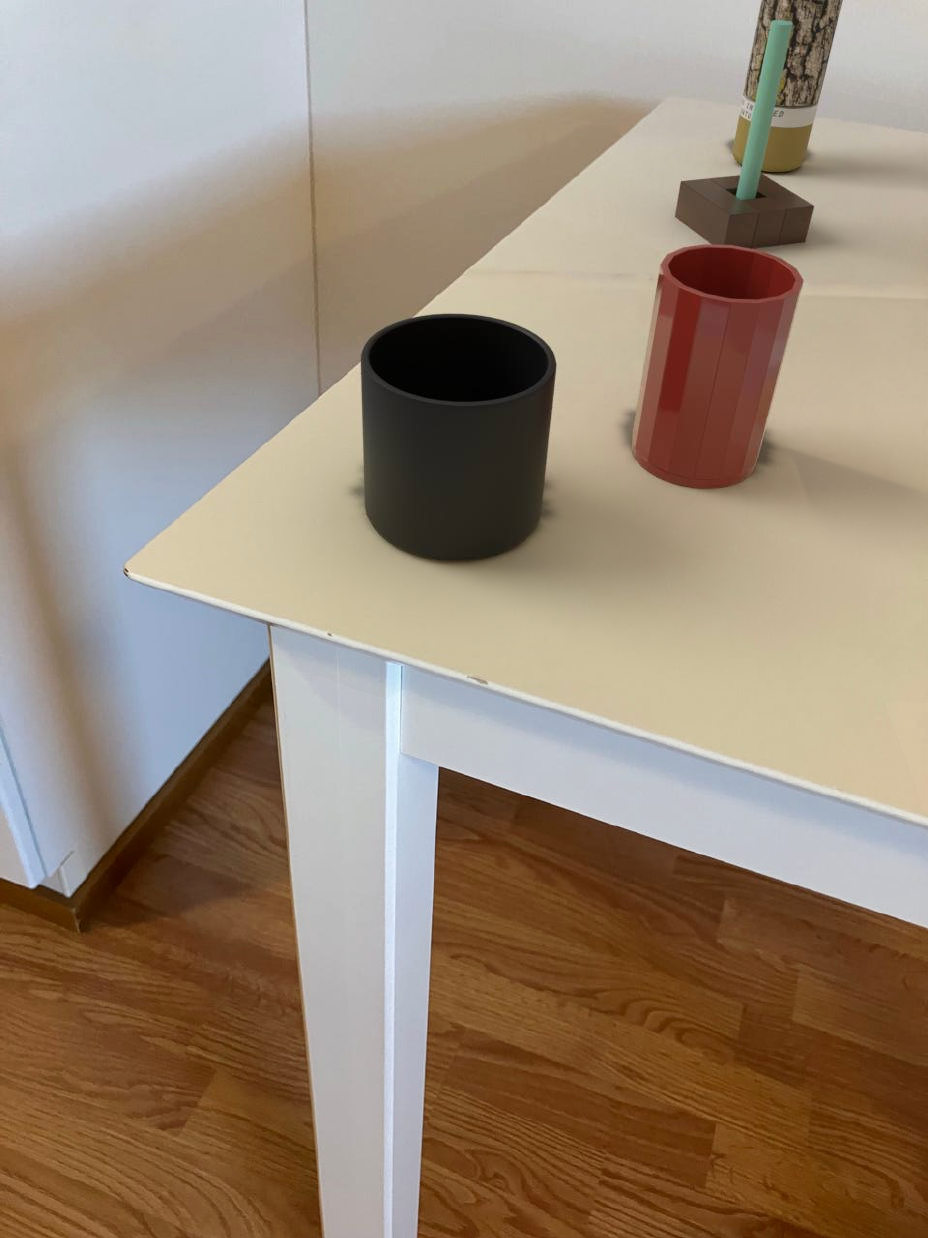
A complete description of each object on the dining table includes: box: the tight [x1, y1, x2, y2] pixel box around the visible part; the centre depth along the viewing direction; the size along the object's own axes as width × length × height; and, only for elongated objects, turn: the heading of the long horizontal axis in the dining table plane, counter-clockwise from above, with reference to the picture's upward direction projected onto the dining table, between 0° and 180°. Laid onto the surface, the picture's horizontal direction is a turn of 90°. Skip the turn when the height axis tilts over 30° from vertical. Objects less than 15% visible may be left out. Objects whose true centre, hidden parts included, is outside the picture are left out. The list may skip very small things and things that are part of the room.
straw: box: [736, 20, 793, 200], centre depth 81 cm, size 2×2×16 cm
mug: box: [360, 313, 557, 562], centre depth 55 cm, size 9×12×9 cm
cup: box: [631, 243, 805, 489], centre depth 59 cm, size 7×7×11 cm
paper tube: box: [732, 0, 844, 173], centre depth 94 cm, size 7×7×25 cm
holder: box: [674, 172, 815, 250], centre depth 85 cm, size 8×8×4 cm
